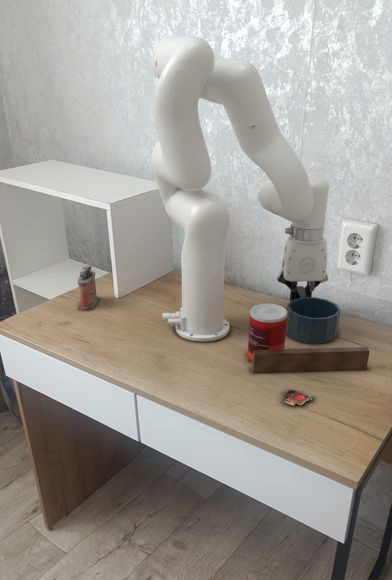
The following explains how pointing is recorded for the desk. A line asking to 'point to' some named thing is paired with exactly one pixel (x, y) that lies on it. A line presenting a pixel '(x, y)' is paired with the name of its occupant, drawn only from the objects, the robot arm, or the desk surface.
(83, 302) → the lighter
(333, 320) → the saucepan
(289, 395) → the mottled red brown piece
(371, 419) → the desk surface
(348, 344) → the desk surface
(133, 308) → the desk surface
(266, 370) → the wooden board
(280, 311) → the canned food
